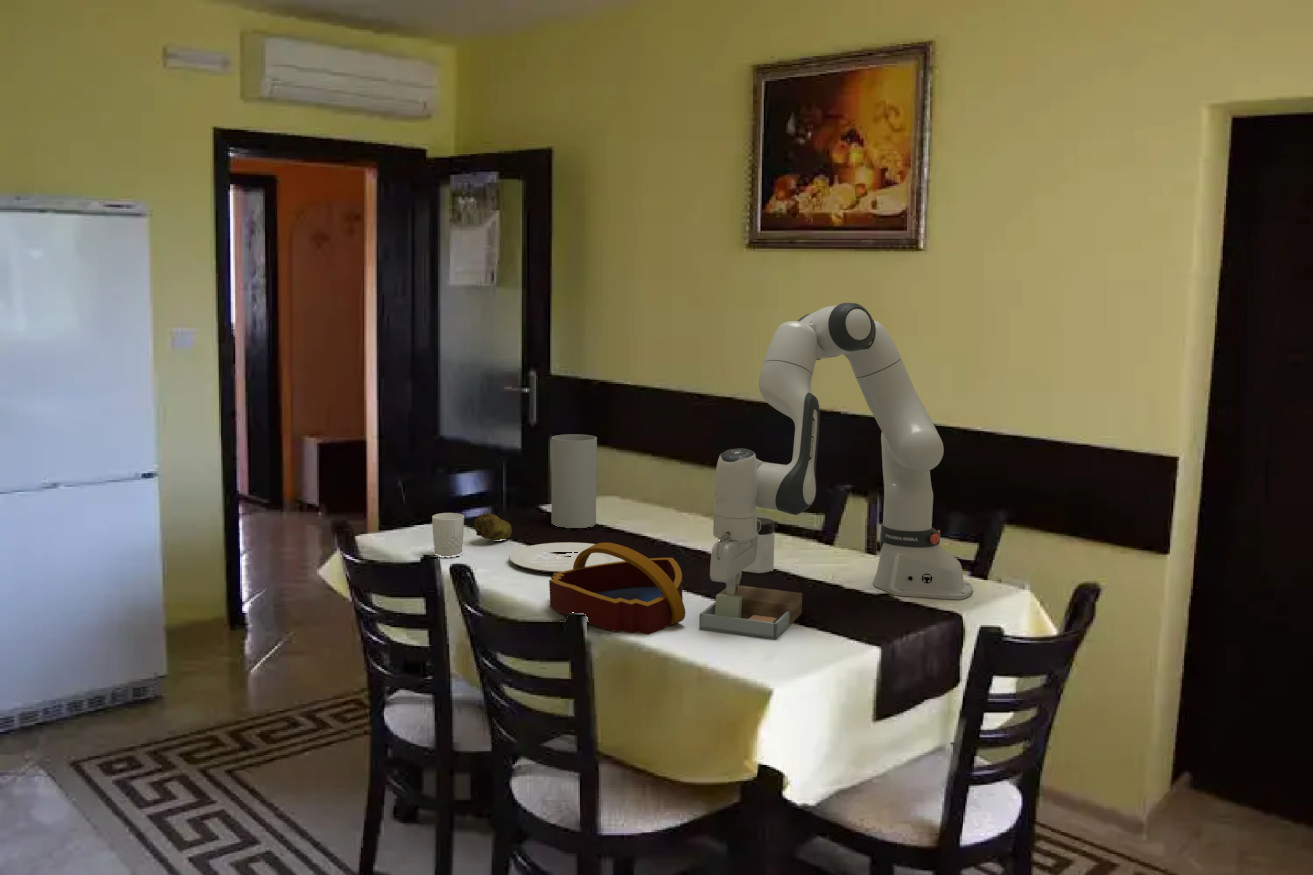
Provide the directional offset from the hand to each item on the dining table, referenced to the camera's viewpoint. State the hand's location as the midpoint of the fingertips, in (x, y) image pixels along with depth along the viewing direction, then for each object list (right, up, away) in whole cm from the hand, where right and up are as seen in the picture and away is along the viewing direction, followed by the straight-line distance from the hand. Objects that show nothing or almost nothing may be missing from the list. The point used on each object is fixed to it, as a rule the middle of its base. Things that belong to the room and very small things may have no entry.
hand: (732, 592), depth 247 cm
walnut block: (+6, -5, +4) cm, 9 cm away
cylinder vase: (-39, +7, +87) cm, 96 cm away
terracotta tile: (+5, -4, -8) cm, 11 cm away
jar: (+8, 0, +42) cm, 43 cm away
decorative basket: (-23, -5, +6) cm, 24 cm away
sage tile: (-1, -3, -1) cm, 3 cm away
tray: (+2, -6, -5) cm, 9 cm away
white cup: (-68, +3, +50) cm, 85 cm away
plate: (-38, +1, +46) cm, 59 cm away
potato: (-59, +5, +66) cm, 88 cm away
